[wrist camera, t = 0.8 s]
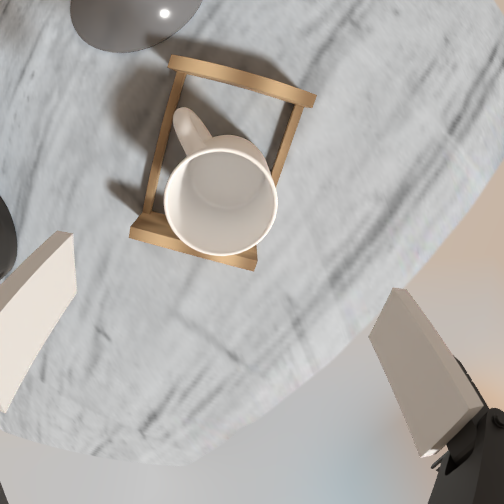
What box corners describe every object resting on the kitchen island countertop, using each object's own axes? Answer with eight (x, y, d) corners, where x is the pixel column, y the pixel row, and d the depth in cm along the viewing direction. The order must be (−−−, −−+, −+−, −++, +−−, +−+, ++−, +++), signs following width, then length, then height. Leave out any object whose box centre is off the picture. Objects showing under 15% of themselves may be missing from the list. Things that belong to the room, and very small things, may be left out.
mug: (155, 126, 29) (117, 139, 20) (228, 87, 28) (220, 79, 19) (210, 224, 34) (198, 272, 25) (281, 190, 33) (295, 228, 24)
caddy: (143, 219, 34) (128, 237, 29) (182, 61, 26) (171, 54, 22) (252, 248, 36) (253, 271, 31) (305, 96, 28) (316, 95, 24)
